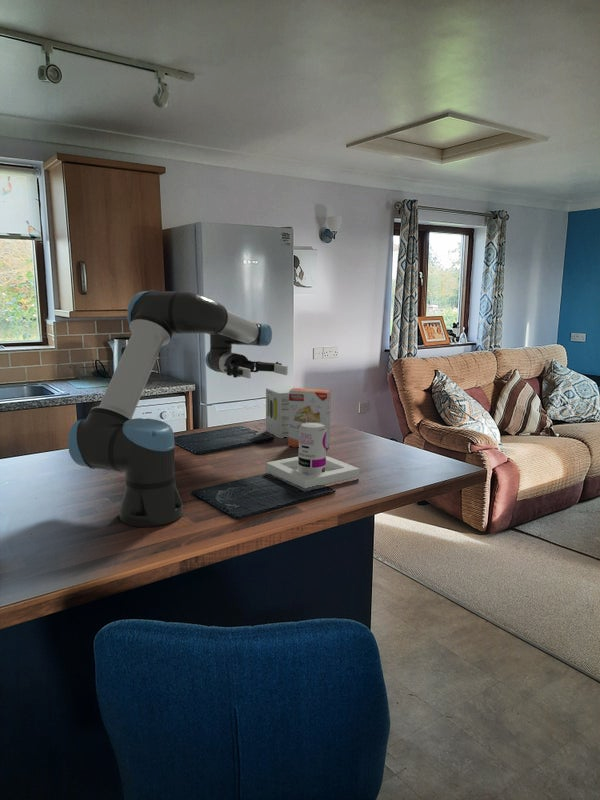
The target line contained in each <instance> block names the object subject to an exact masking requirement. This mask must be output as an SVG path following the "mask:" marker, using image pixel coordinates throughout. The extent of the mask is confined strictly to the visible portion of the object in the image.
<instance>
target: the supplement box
mask: <svg viewBox="0 0 600 800" xmlns="http://www.w3.org/2000/svg"><path fill="white" fill-rule="evenodd" d="M293 388H300V387H297V386H295V385H292V386H277V387H266V388H265V431H266V432H268V434H271V435H272V434H273V436H274V435H275V436H274V437H276V438H278V439H285V438H284V437H287V438H288V430H289V390H291V389H293Z"/></svg>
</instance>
